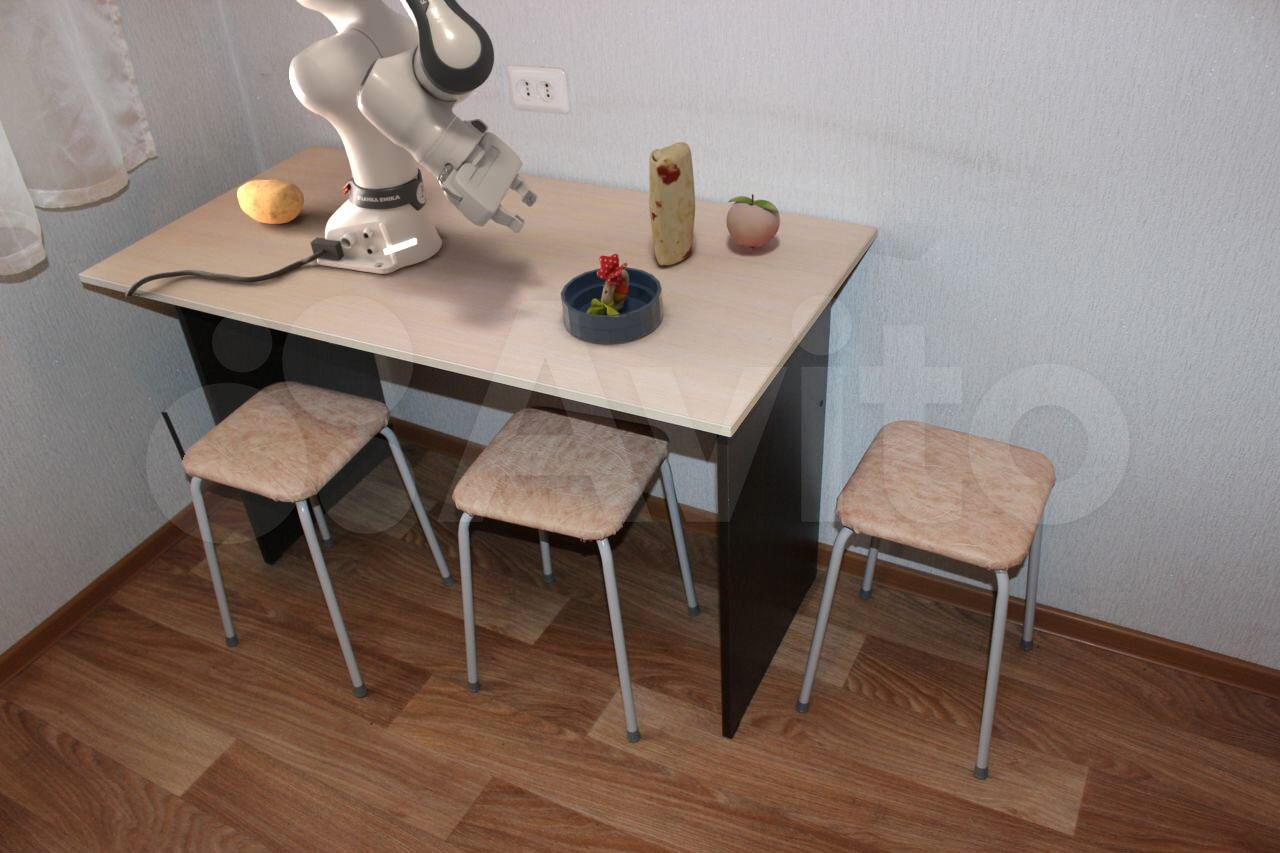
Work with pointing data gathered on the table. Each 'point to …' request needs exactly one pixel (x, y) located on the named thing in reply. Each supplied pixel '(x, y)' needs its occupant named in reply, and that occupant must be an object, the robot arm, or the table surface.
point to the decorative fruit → (752, 221)
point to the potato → (270, 201)
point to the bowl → (634, 317)
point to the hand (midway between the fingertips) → (528, 214)
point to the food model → (672, 202)
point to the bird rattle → (611, 286)
